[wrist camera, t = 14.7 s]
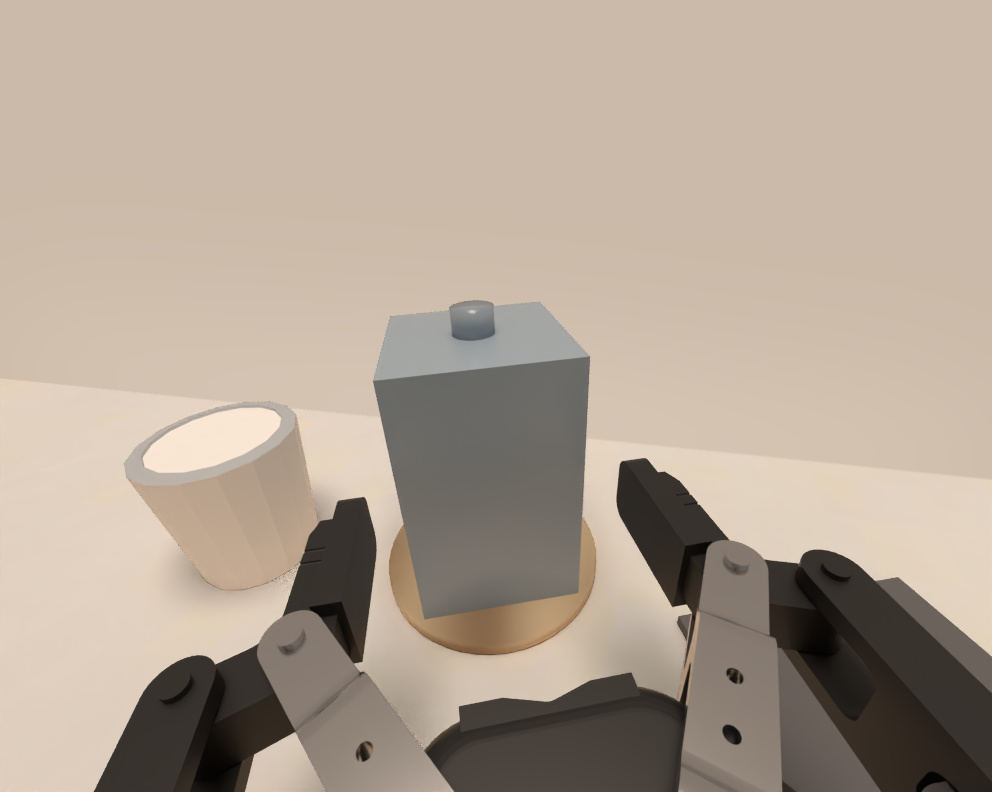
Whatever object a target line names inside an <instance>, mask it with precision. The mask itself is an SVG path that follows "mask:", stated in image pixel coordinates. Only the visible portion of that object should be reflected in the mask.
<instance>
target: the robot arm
mask: <svg viewBox="0 0 992 792" xmlns="http://www.w3.org/2000/svg"><path fill="white" fill-rule="evenodd" d="M617 508H618V512H619V515H620V517H621V519H622V521H623V522H624V524H625V526H626V527H627V529H628V531H629V533H630V534H631V536H632V538H633V540H634V541H635V543H636V545H637V546H638V548H639V550H640V552H641V553H642V555H643V557H644V559H645V560H646V562H647V564H648V565H649V567H650V569H651V571H652V572H653V574H654V576H655V578H656V579H657V581H658V583H659V584H660V586H661V588H662V590H663V591H664V593H665V595H666V597H667V598H668V600H669V602H670V603H671V605H672V607H674V606H680V605H685V604H687V605H688V607H689V609H690V610H691V612H692V613H691V618H690V623H689V630H688V636H687V643H686V649H685V656H684V662H683V669H682V675H681V681H680V687H679V692H678V696H677V700H676V699H674V698H672V697H669V696H667V695H665V694H663V693H660V692H657V691H654V690H651V689H647V688H642V687H637V685H636V683H635V680H634V678H633V675H632V673H626V674H621V675H616V676H611V677H606V678H601V679H596V680H591V681H589V682H587V683H585V684H583V685H581V686H579V687H577V688H576V689H574V690H572V691H570V692H568V693H566V694H564V695H563V696H561V697H559V698H557V699H555V700H553V701H550V702H542V701H531V700H520V699H510V698H499V699H494V700H489V701H484V702H479V703H474V704H469V705H464V706H459V715H460V722H458V723H456V724H454V725H452V726H451V727H449V728H448V729H446V730H445V731H444V732H442V733H441V734H440V735H439V736H438V737H437V738H435V739H434V740H433V741H432V742H431V743H430V744H429V746H428V747H427V748H426V749H425V750H423V749H422V747H421V746H420V745H419V743H418V742H417V741H416V739H415V738H414V737H413V735H412V734H411V733H410V731H409V730H408V728H407V727H406V726H405V724H404V723H403V722H402V720H401V719H400V718H399V716H398V715H397V714H396V712H395V711H394V709H393V708H392V707H391V705H390V704H389V703H388V701H387V700H386V699H385V697H384V696H383V695H382V693H381V692H380V690H379V689H378V688H377V686H376V685H375V684H374V682H373V681H372V680H371V678H370V677H369V676H368V675H367V674H366V673H365V672H362V673H361V672H360V671H359V670H358V669H357V668H356V666H355V665H354V664H353V663H359V662H363V654H364V646H365V638H366V631H367V623H368V615H369V607H370V600H371V592H372V584H373V577H374V569H375V561H376V537H375V532H374V528H373V524H372V520H371V517H370V513H369V509H368V505H367V501H366V499H365V498H364V497H361V498H354V499H347V500H340V501H338V502H337V505H336V509H335V512H334V516H333V519H330V520H323V521H320V523H319V524H318V525H317V526H316V528H315V529H314V530H313V531H312V532H311V534H310V535H309V538H308V541H307V544H306V547H305V550H304V551H305V553H303V556H302V559H301V562H300V564H301V565H300V566H299V568H298V572H297V575H296V578H295V581H294V584H293V587H292V590H291V593H290V596H289V599H288V602H287V605H286V609H285V612H284V614H283V617H282V618H280V619H278V620H277V621H276V622H275V623H273V624H272V625H271V626H270V627H269V628H268V629H267V631H266V632H265V633H264V635H263V636H262V638H261V640H260V642H259V644H257V645H256V646H254V647H252V648H250V649H248V650H246V651H244V652H242V653H240V654H238V655H235V656H233V657H231V658H229V659H227V660H224V661H222V662H220V663H218V664H216V665H215V664H214V662H213V661H212V660H211V659H210V658H208V657H206V656H201V655H197V656H191V657H187V658H184V659H182V660H180V661H178V662H176V663H174V664H172V665H171V666H169V667H168V668H166V669H165V670H164V671H162V672H161V673H160V674H159V675H158V676H157V677H156V678H154V679H153V681H152V682H151V683H150V684H149V685H148V686H147V688H146V689H145V691H144V692H143V694H142V696H141V697H140V699H139V701H138V703H137V705H136V707H135V709H134V711H133V713H132V715H131V718H130V720H129V722H128V724H127V726H126V728H125V730H124V732H123V734H122V736H121V738H120V740H119V742H118V744H117V746H116V748H115V750H114V752H113V754H112V756H111V758H110V760H109V762H108V764H107V766H106V768H105V770H104V772H103V774H102V776H101V778H100V780H99V782H98V784H97V786H96V788H95V790H94V792H245V789H246V785H247V781H248V777H249V773H250V769H251V765H252V761H253V757H254V754H256V753H257V752H259V751H261V750H263V749H265V748H267V747H268V746H270V745H272V744H274V743H276V742H278V741H279V740H281V739H283V738H285V737H287V736H289V735H290V734H292V733H294V732H296V734H297V736H298V738H299V740H300V742H301V744H302V746H303V747H304V749H305V751H306V753H307V755H308V757H309V759H310V761H311V763H312V765H313V767H314V769H315V771H316V772H317V774H318V776H319V778H320V780H321V782H322V784H323V786H324V788H325V790H326V792H796V791H795V790H794V789H793V788H791V787H790V786H789V785H787V784H786V783H785V782H784V781H782V770H781V741H780V712H779V682H778V653H777V648H782V650H783V651H784V653H785V654H786V656H787V657H788V658H789V660H790V661H791V663H792V664H793V666H794V667H795V668H796V670H797V671H798V673H799V674H800V676H801V677H802V679H803V680H804V681H805V683H806V684H807V686H808V687H809V689H810V690H811V691H812V693H813V694H814V696H815V697H816V699H817V700H818V702H819V703H820V704H821V706H822V707H823V709H824V710H825V712H826V713H827V715H828V716H829V717H830V719H831V720H832V722H833V723H834V725H835V726H836V727H837V729H838V730H839V732H840V733H841V735H842V736H843V738H844V739H845V740H846V742H847V743H848V745H849V746H850V748H851V749H852V750H853V752H854V753H855V755H856V756H857V758H858V759H859V761H860V762H861V763H862V765H863V766H864V768H865V769H866V771H867V772H868V773H869V775H870V776H871V778H872V779H873V781H874V782H875V784H876V785H877V786H878V788H879V789H880V791H881V792H992V693H991V692H990V691H989V690H988V689H987V688H986V687H985V686H984V685H983V684H982V683H981V682H980V681H979V680H978V679H977V678H975V677H974V676H973V675H972V674H971V673H970V672H969V671H968V670H967V669H966V668H965V667H964V666H963V665H962V664H961V663H960V662H959V661H958V660H957V659H956V658H955V657H954V656H953V655H952V654H950V653H949V652H948V651H947V650H946V649H945V648H944V647H943V646H942V645H941V644H940V643H939V642H938V641H937V640H936V639H935V638H934V637H933V636H932V635H931V634H930V633H929V632H928V631H926V630H925V629H924V628H923V627H922V626H921V625H920V624H919V623H918V622H917V621H916V620H915V619H914V618H913V617H912V616H911V615H910V614H909V613H908V612H907V611H906V610H905V609H904V608H903V607H901V606H900V605H899V604H898V603H897V602H896V601H895V600H894V599H893V598H892V597H891V596H890V595H889V594H888V593H887V592H886V591H885V590H884V589H883V588H882V587H881V586H880V585H879V584H877V583H876V582H875V581H874V580H873V579H872V578H871V577H870V576H869V575H868V574H867V573H866V572H865V571H864V570H863V569H862V568H861V567H860V566H858V565H857V564H856V563H854V562H853V561H851V560H850V559H848V558H846V557H844V556H842V555H839V554H837V553H834V552H831V551H826V550H810V551H808V552H806V553H804V554H803V556H802V558H801V560H800V563H799V564H797V563H788V562H779V561H770V560H764V559H763V558H762V557H761V555H759V554H758V553H757V552H756V551H755V550H753V549H752V548H750V547H748V546H746V545H744V544H742V543H739V542H735V541H730V540H729V539H728V538H727V537H726V536H725V534H724V533H723V532H722V531H721V530H720V528H719V527H718V526H717V525H716V524H715V523H714V521H713V520H712V519H711V518H710V517H709V515H708V514H707V513H706V512H705V511H704V509H703V508H702V507H701V506H700V505H698V504H697V501H696V500H695V499H694V498H693V496H692V495H690V494H689V492H688V491H687V489H686V488H685V487H684V486H683V485H682V483H681V482H680V481H679V480H677V479H676V478H674V477H672V476H671V475H669V474H668V473H666V472H657V471H656V469H655V468H654V467H653V466H652V464H651V463H650V462H649V461H648V460H647V459H646V458H642V459H635V460H628V461H622V462H621V463H620V468H619V478H618V488H617ZM847 643H848V644H847ZM852 649H853V650H852ZM858 656H859V657H858ZM863 662H864V663H863Z"/></svg>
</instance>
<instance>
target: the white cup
mask: <svg viewBox="0 0 992 792" xmlns="http://www.w3.org/2000/svg"><path fill="white" fill-rule="evenodd" d="M124 466H125V472H126V478H127V479H128V480H129V481H130V483H131V484H132V485H133V487H134V488H135V489H136V491H137V492H138V493H139V494H140V496H141V497H142V498H143V500H144V501H145V502H146V504H147V505H148V506H149V507H150V509H151V510H152V511H153V513H154V514H155V515H156V517H157V518H158V519H159V520H160V522H161V523H162V524H163V526H164V527H165V528H166V529H167V531H168V532H169V533H170V535H171V536H172V537H173V539H174V540H175V541H176V542H177V544H178V545H179V546H180V548H181V549H182V550H183V552H184V553H185V554H186V555H187V557H188V558H189V559H190V561H191V562H192V563H193V565H194V566H195V567H196V568H197V570H198V571H199V572H200V574H201V575H202V576H203V578H204V579H205V580H206V581H207V582H208V583H210V584H212V585H213V586H215V587H217V588H219V589H221V590H245V589H248V588H251V587H255V586H258V585H262V584H265V583H268V582H270V581H272V580H273V579H275V578H277V577H279V576H281V575H282V574H284V573H286V572H288V571H289V570H291V569H292V568H293V567H294V566H295V565H296V564H298V563H299V562H300V561H301V559H302V556H303V553H305V551H304V550H305V547H306V544H307V541H308V538H309V535H310V534H311V532H312V531H313V530H314V529H315V528H316V526H317V525H318V520H317V515H316V510H315V505H314V500H313V495H312V491H311V486H310V481H309V476H308V471H307V466H306V461H305V456H304V451H303V447H302V442H301V437H300V432H299V427H298V422H297V417H296V414H295V413H294V412H293V411H292V410H291V409H290V408H289V407H288V406H285V405H282V404H277V403H273V402H243V403H238V404H233V405H227V406H222V407H217V408H214V409H211V410H208V411H204V412H201V413H198V414H195V415H192V416H189V417H186V418H184V419H182V420H180V421H178V422H176V423H174V424H172V425H170V426H167V427H165V428H163V429H161V430H159V431H158V432H156V433H155V434H153V435H152V436H151V437H149V438H148V439H146V440H145V441H144V442H142V443H141V444H139V445H138V446H137V447H136V448H135V449H134V450H133V452H132V453H131V455H130V456H129V457H128V459H127V460H126V461H125V463H124Z"/></svg>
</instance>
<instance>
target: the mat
mask: <svg viewBox="0 0 992 792" xmlns="http://www.w3.org/2000/svg"><path fill="white" fill-rule="evenodd" d="M875 582H876V583H877V584H879V585H880V586H881V587H882V588H883V589H884V590H885V591H886V592H887V593H888V594H889V595H890V596H891V597H892V598H893V599H894V600H895V601H896V602H897V603H898V604H899V605H900V606H901V607H903V608H904V609H905V610H906V611H907V612H908V613H909V614H910V615H911V616H912V617H913V618H914V619H915V620H916V621H917V622H918V623H919V624H920V625H921V626H922V627H923V628H924V629H925V630H926V631H928V632H929V633H930V634H931V635H932V636H933V637H934V638H935V639H936V640H937V641H938V642H939V643H940V644H941V645H942V646H943V647H944V648H945V649H946V650H947V651H948V652H949V653H950V654H952V655H953V656H954V657H955V658H956V659H957V660H958V661H959V662H960V663H961V664H962V665H963V666H964V667H965V668H966V669H967V670H968V671H969V672H970V673H971V674H972V675H973V676H974V677H975V678H977V679H978V680H979V681H980V682H981V683H982V684H983V685H984V686H985V687H986V688H987V689H988V690H989V691H990V692H991V693H992V657H991V656H990V655H989V654H988V653H987V652H986V651H984V650H983V649H982V648H981V647H980V646H979V645H977V644H976V643H975V642H974V641H973V640H971V639H970V638H969V637H968V636H967V635H966V634H964V633H963V632H962V631H961V630H960V629H959V628H957V627H956V626H955V625H954V624H953V623H951V622H950V621H949V620H948V619H947V618H946V617H944V616H943V615H942V614H941V613H940V612H938V611H937V610H936V609H935V608H934V607H933V606H931V605H930V604H929V603H928V602H927V601H926V600H924V599H923V598H922V597H921V596H920V595H918V594H917V593H916V592H915V591H914V590H913V589H911V588H910V587H909V586H908V585H907V584H905V583H904V582H903V581H902V580H901V579H900V578H898V577H897V578H891V579H885V580H880V581H875ZM690 618H691V614H689V615H683V616H679V617H678V622H677V623H678V625H679V626H680V628H681V630H682V632H683V634H684V635H685V637H686V639H687V636H688V630H689V623H690ZM847 644H848V643H847ZM852 650H853V649H852ZM777 653H778V682H779V712H780V741H781V770H782V781H784V782H785V783H786V784H787V785H789V786H790V787H791V788H793V789H794V790H795V791H796V792H881V791H880V789H879V788H878V786H877V785H876V784H875V782H874V781H873V779H872V778H871V776H870V775H869V773H868V772H867V771H866V769H865V768H864V766H863V765H862V763H861V762H860V761H859V759H858V758H857V756H856V755H855V753H854V752H853V750H852V749H851V748H850V746H849V745H848V743H847V742H846V740H845V739H844V738H843V736H842V735H841V733H840V732H839V730H838V729H837V727H836V726H835V725H834V723H833V722H832V720H831V719H830V717H829V716H828V715H827V713H826V712H825V710H824V709H823V707H822V706H821V704H820V703H819V702H818V700H817V699H816V697H815V696H814V694H813V693H812V691H811V690H810V689H809V687H808V686H807V684H806V683H805V681H804V680H803V679H802V677H801V676H800V674H799V673H798V671H797V670H796V668H795V667H794V666H793V664H792V663H791V661H790V660H789V658H788V657H787V656H786V654H785V653H784V651H783V650H782V648H777ZM858 657H859V656H858ZM863 663H864V662H863Z"/></svg>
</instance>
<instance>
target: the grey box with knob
mask: <svg viewBox="0 0 992 792" xmlns="http://www.w3.org/2000/svg"><path fill="white" fill-rule="evenodd" d="M589 366H590V356H589V355H588V354H587V353H586V352H585V350H584V349H583V348H582V347H581V346H580V345H579V344H578V343H577V342H576V341H575V340H574V338H573V337H572V336H571V335H570V334H569V333H568V332H567V331H566V330H565V329H564V328H563V327H562V325H561V324H560V323H559V322H558V321H557V320H556V319H555V318H554V317H553V316H552V314H551V313H549V311H548V310H547V309H546V308H545V307H544V306H543V305H542V304H541V303H540V302H531V303H521V304H511V305H501V306H494V305H493V303H491V302H488V301H465V302H460V303H456V304H453V305H452V306H450V308H449V311H440V312H430V313H419V314H409V315H398V316H390V319H389V323H388V327H387V330H386V334H385V338H384V342H383V345H382V349H381V353H380V357H379V360H378V364H377V368H376V372H375V375H374V380H373V383H374V387H375V392H376V397H377V402H378V406H379V411H380V415H381V420H382V425H383V429H384V434H385V439H386V443H387V448H388V453H389V457H390V462H391V467H392V471H393V476H394V481H395V485H396V490H397V495H398V499H399V504H400V508H401V513H402V518H403V522H404V527H405V532H406V536H407V541H408V546H409V550H410V555H411V560H412V564H413V569H414V574H415V578H416V583H417V587H418V592H419V597H420V601H421V606H422V611H423V615H424V619H430V618H436V617H442V616H448V615H453V614H459V613H465V612H471V611H477V610H483V609H489V608H494V607H500V606H506V605H512V604H518V603H524V602H530V601H535V600H541V599H547V598H553V597H559V596H565V595H571V594H576V593H578V590H579V570H580V550H581V529H582V509H583V489H584V469H585V448H586V427H587V408H588V385H589Z"/></svg>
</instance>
